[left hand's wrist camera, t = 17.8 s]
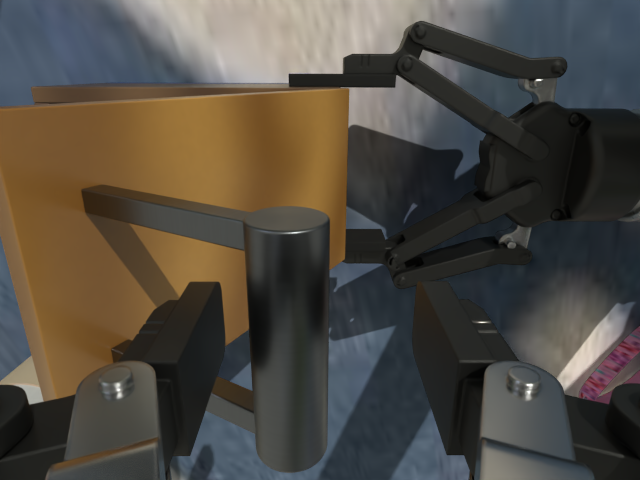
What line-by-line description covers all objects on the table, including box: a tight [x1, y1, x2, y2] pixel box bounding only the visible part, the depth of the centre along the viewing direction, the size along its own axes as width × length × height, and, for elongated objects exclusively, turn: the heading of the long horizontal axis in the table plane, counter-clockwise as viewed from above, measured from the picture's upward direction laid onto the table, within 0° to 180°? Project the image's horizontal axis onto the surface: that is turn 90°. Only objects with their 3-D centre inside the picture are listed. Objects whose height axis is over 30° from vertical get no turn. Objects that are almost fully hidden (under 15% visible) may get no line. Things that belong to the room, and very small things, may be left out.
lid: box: [0, 88, 349, 473], centre depth 18 cm, size 18×10×8 cm
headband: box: [579, 326, 640, 404], centre depth 43 cm, size 11×4×2 cm, turn 150°
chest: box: [31, 83, 340, 105], centre depth 32 cm, size 18×10×10 cm, turn 90°
